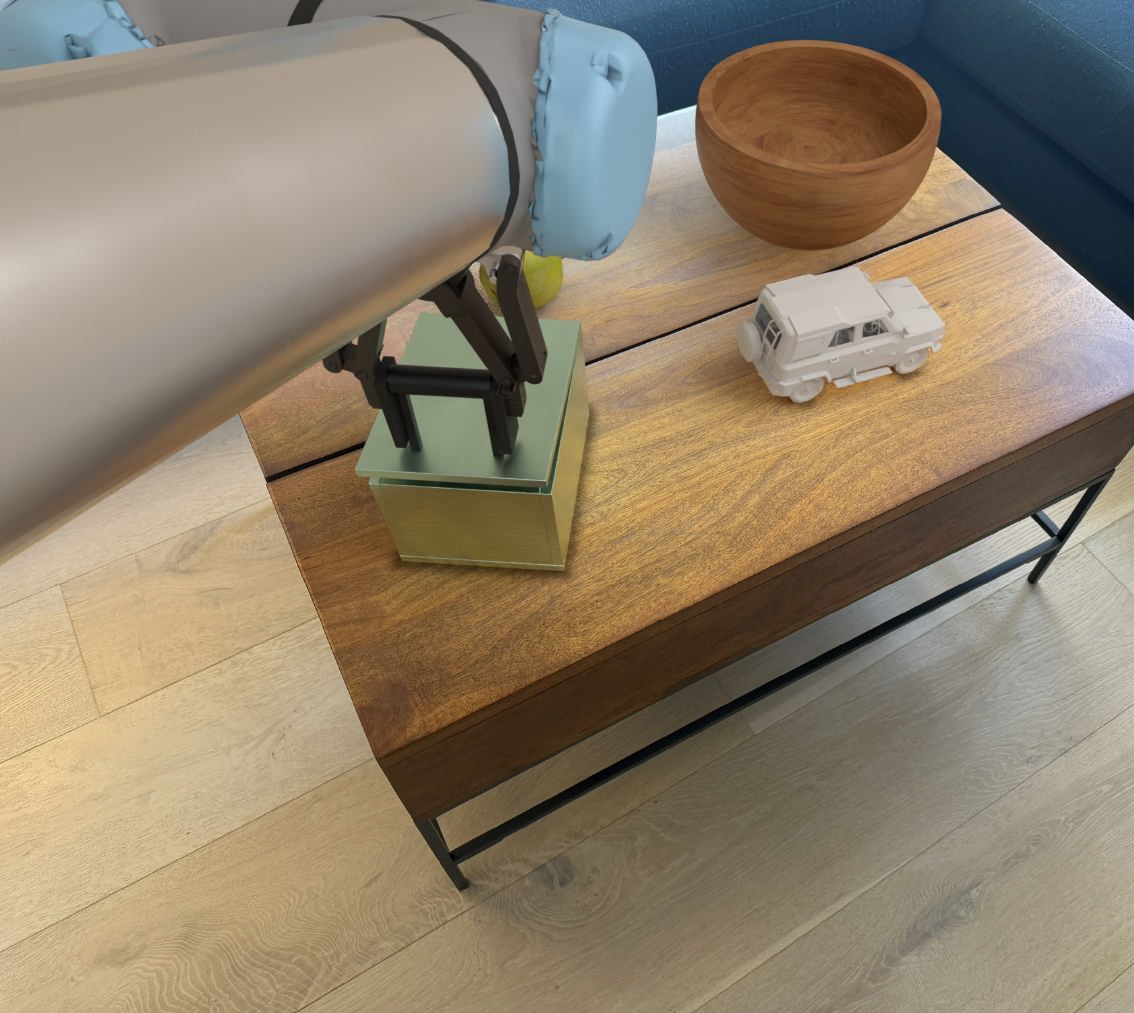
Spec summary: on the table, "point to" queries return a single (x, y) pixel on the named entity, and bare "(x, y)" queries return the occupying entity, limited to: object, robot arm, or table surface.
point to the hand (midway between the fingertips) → (458, 436)
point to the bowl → (814, 140)
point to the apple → (533, 278)
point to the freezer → (493, 506)
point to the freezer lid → (468, 411)
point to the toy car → (837, 331)
